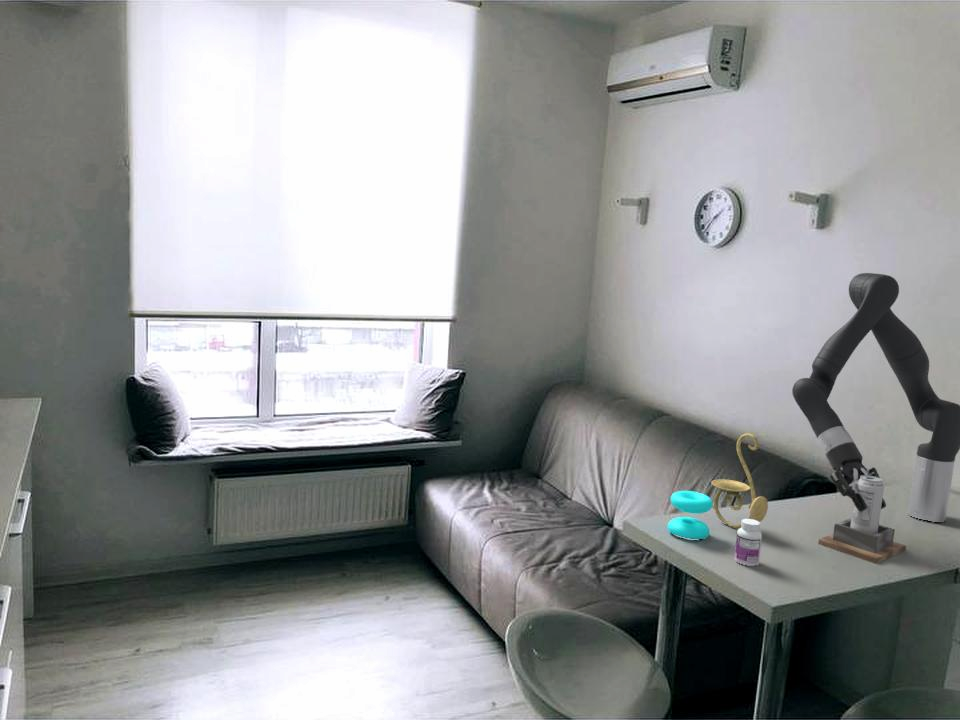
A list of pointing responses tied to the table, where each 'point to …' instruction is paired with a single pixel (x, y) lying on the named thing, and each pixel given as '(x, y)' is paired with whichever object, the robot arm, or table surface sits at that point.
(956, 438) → the robot arm
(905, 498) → the table surface
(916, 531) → the table surface
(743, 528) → the pill bottle
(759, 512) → the wall sconce
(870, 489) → the energy drink can
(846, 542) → the socket board
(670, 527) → the donuts
